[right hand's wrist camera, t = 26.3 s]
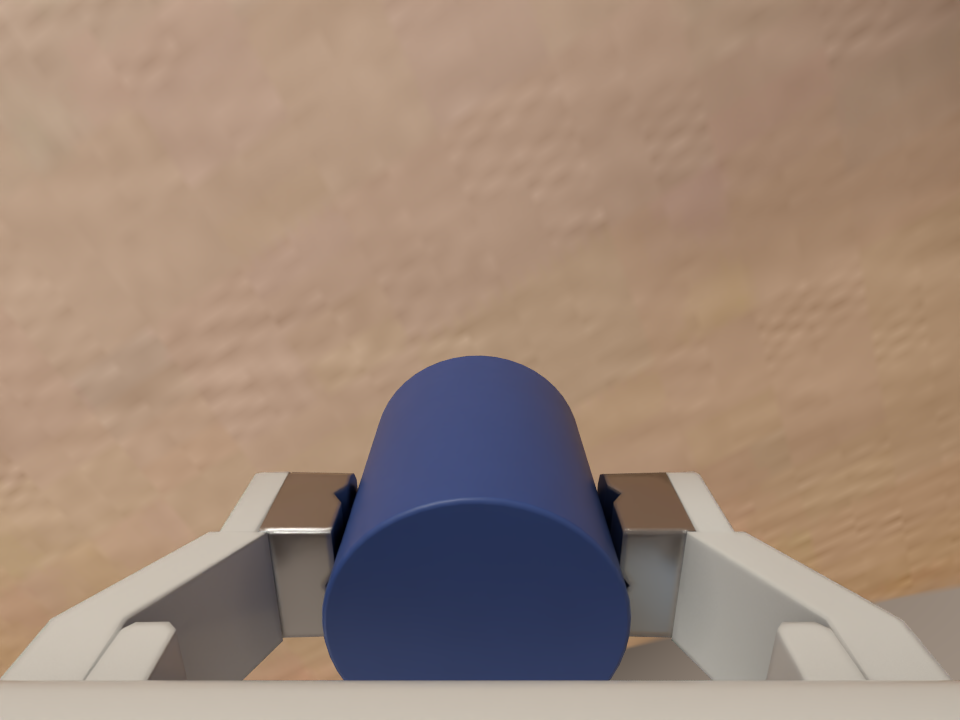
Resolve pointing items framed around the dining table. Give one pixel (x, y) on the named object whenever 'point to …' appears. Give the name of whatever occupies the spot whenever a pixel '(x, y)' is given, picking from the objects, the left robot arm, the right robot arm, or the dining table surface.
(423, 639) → the canister
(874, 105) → the dining table surface
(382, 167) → the dining table surface
